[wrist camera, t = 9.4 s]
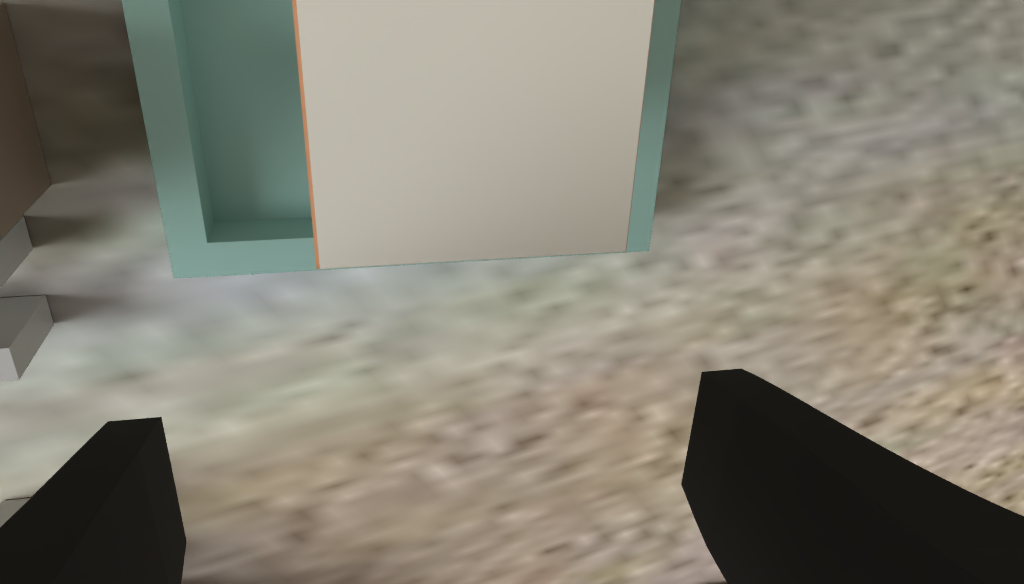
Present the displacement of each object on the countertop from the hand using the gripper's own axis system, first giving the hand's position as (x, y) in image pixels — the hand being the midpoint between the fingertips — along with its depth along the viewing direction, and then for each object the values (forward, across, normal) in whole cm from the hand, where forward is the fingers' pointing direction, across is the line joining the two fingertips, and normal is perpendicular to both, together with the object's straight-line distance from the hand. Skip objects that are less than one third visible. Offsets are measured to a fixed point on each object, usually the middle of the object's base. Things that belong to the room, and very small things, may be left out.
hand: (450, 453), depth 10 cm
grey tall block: (+9, 0, -4) cm, 10 cm away
